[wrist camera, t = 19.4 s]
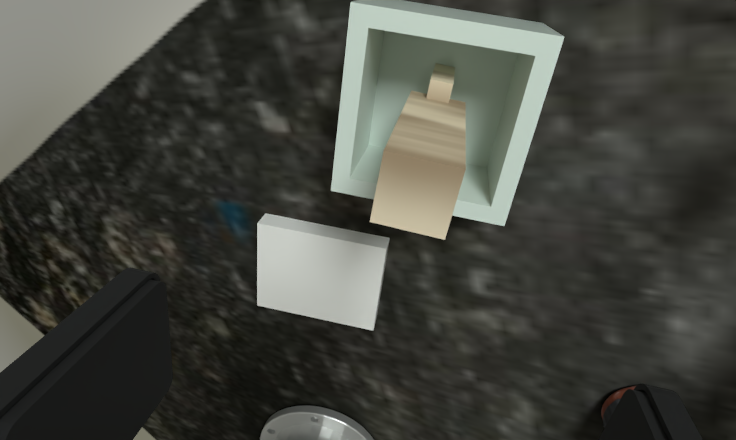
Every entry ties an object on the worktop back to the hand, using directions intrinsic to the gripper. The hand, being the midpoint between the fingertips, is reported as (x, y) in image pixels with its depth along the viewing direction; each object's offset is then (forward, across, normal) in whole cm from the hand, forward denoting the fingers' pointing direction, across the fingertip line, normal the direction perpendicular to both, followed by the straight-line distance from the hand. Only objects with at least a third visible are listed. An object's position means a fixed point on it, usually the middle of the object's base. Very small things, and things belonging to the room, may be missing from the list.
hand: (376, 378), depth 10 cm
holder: (+24, 0, -1) cm, 24 cm away
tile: (+24, +1, +14) cm, 28 cm away
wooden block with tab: (+23, 0, -1) cm, 23 cm away
